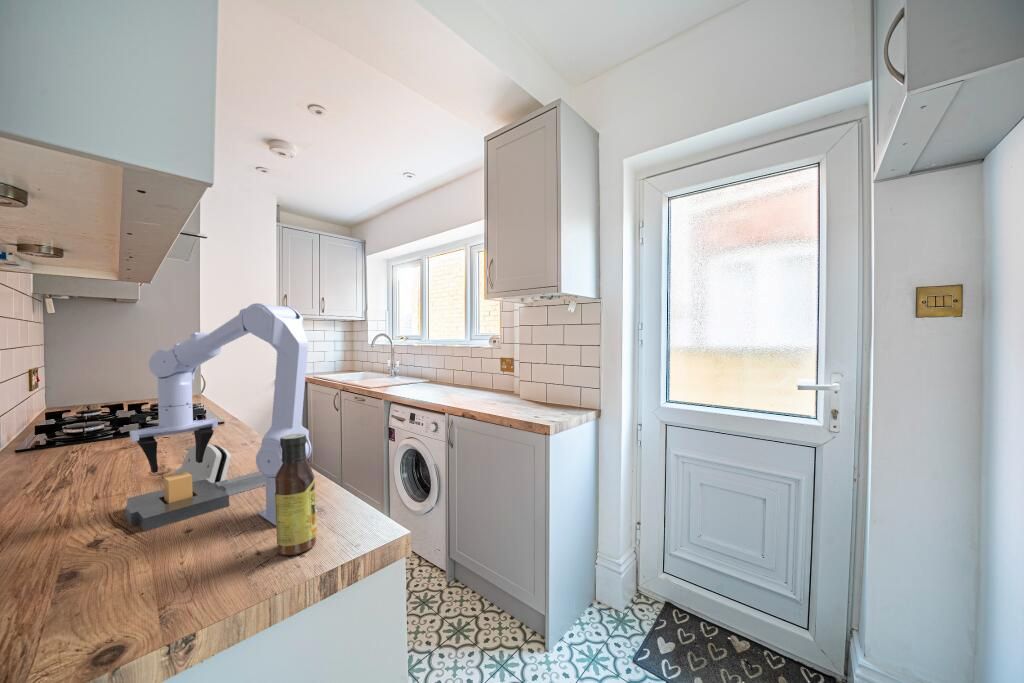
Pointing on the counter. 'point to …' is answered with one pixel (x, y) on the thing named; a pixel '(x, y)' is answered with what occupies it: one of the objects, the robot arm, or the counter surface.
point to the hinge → (207, 464)
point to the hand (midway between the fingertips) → (177, 466)
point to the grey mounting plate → (187, 501)
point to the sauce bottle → (295, 498)
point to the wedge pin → (177, 487)
